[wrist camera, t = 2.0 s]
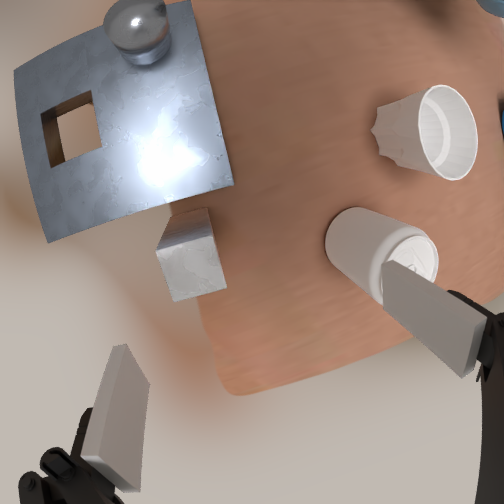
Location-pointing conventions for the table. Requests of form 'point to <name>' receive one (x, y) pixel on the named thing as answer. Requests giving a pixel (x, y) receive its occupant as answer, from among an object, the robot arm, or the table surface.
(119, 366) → the robot arm
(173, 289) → the grey square peg
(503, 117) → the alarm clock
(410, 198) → the table surface
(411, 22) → the table surface
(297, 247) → the table surface
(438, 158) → the cup
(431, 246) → the beverage can
